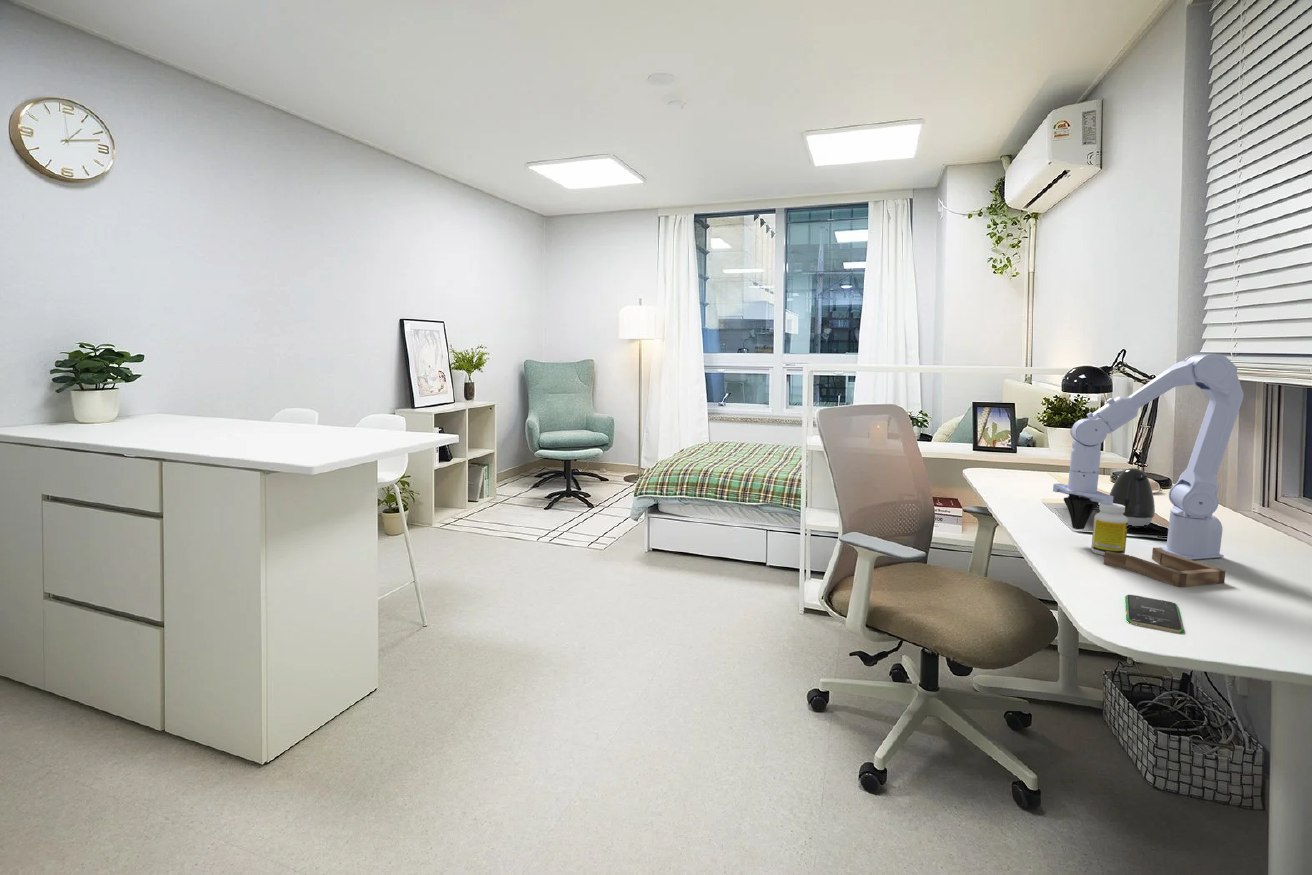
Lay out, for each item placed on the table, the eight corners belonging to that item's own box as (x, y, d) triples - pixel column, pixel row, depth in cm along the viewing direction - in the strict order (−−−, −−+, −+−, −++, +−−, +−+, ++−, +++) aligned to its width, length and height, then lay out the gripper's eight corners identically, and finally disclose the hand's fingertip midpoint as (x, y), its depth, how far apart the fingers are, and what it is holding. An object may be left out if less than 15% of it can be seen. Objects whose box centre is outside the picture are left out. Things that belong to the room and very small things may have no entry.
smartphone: (1177, 602, 117) (1185, 631, 105) (1177, 607, 117) (1184, 636, 105) (1125, 592, 121) (1126, 619, 109) (1124, 597, 121) (1126, 625, 109)
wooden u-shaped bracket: (1156, 558, 144) (1157, 547, 144) (1231, 582, 129) (1233, 569, 129) (1100, 562, 140) (1101, 551, 140) (1171, 587, 126) (1172, 575, 125)
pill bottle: (1130, 558, 144) (1135, 508, 142) (1098, 556, 145) (1103, 507, 143) (1116, 550, 150) (1121, 502, 148) (1086, 548, 151) (1090, 501, 149)
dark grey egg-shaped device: (1117, 530, 166) (1123, 471, 164) (1097, 520, 176) (1102, 464, 174) (1162, 532, 164) (1169, 472, 162) (1139, 522, 175) (1145, 465, 173)
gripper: (1044, 466, 159) (1039, 521, 161) (1097, 477, 145) (1090, 537, 147) (1069, 465, 160) (1063, 519, 162) (1123, 476, 146) (1117, 536, 148)
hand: (1078, 528), depth 154 cm, fingers closed
